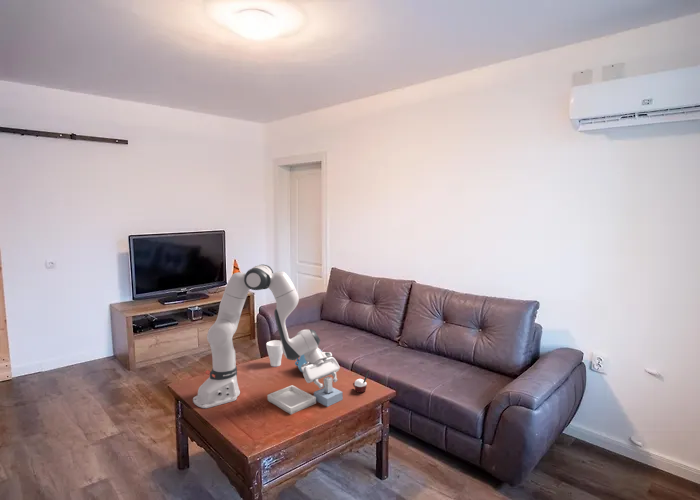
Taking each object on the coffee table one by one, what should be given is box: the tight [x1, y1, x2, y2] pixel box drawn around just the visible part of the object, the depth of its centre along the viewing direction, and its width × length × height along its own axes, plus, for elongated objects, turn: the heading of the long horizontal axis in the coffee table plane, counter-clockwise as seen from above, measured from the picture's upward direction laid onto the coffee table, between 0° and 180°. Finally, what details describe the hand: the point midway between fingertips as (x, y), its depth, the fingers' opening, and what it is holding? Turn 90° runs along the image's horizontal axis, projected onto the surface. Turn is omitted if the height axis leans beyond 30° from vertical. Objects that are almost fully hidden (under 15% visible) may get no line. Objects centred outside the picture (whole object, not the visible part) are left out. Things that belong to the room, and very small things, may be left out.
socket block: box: [313, 386, 344, 407], centre depth 199 cm, size 10×10×4 cm
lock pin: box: [323, 376, 333, 394], centre depth 198 cm, size 3×3×11 cm
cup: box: [265, 339, 284, 368], centre depth 242 cm, size 10×10×14 cm
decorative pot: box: [294, 350, 323, 373], centre depth 233 cm, size 16×16×14 cm
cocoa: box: [352, 369, 370, 393], centre depth 207 cm, size 10×6×12 cm, turn 32°
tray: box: [266, 384, 317, 415], centre depth 197 cm, size 15×19×3 cm
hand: (329, 384), depth 198 cm, fingers open, 8 cm apart
